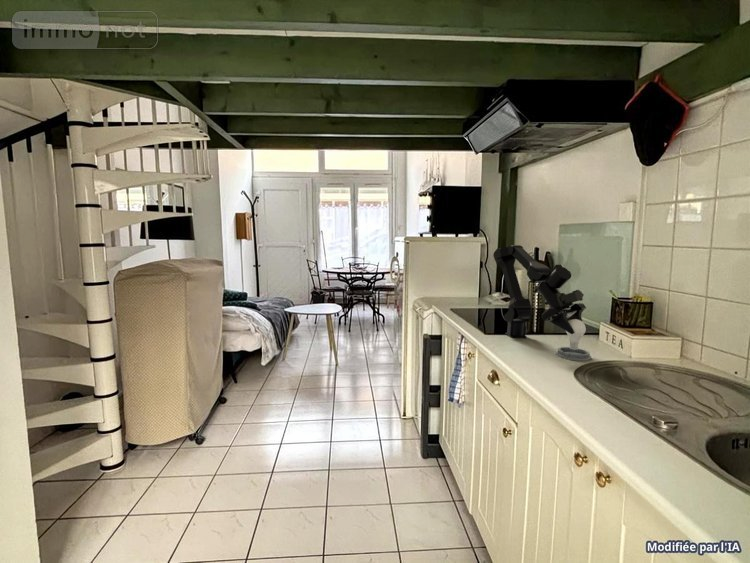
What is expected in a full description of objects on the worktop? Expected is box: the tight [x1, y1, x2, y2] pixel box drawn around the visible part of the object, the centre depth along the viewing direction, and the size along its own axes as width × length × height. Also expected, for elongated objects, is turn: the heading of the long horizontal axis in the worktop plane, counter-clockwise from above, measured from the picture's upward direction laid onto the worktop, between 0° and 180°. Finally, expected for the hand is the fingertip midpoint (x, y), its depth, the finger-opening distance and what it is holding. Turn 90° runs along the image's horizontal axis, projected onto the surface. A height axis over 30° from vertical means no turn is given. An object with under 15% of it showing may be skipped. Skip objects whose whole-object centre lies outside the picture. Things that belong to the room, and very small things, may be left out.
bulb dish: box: [555, 346, 592, 362], centre depth 138 cm, size 11×11×2 cm
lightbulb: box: [565, 319, 586, 350], centre depth 138 cm, size 6×6×11 cm
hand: (578, 332), depth 136 cm, fingers closed on lightbulb, 6 cm apart
